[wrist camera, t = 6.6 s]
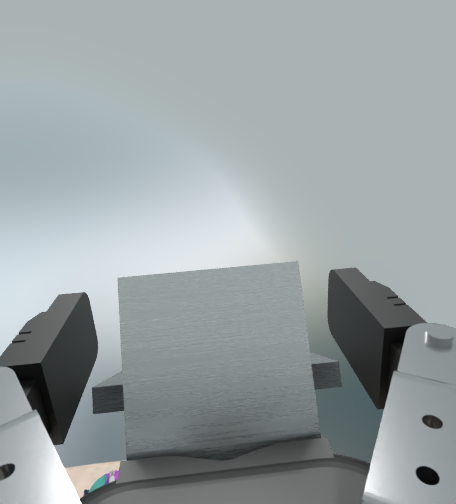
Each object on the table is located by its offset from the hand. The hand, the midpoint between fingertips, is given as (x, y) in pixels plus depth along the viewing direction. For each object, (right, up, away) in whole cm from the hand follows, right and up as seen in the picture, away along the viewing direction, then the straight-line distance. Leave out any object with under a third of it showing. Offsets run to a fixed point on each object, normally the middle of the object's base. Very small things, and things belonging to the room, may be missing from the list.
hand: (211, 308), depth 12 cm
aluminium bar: (0, -4, +7) cm, 8 cm away
